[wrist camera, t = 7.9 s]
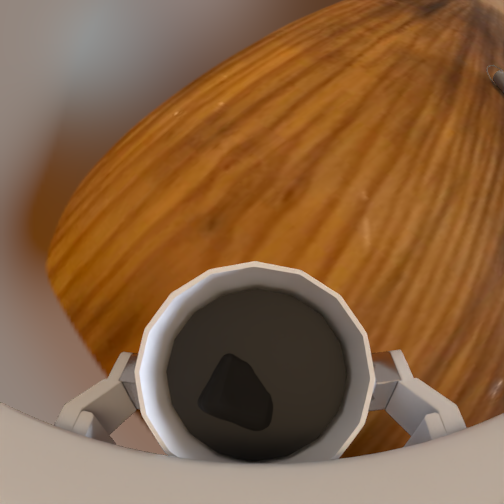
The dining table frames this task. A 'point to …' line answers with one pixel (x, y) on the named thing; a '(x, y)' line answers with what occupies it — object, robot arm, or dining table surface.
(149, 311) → the dining table surface
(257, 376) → the white coffee cup
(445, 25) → the dining table surface
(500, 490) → the robot arm
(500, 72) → the kitchen whisk
